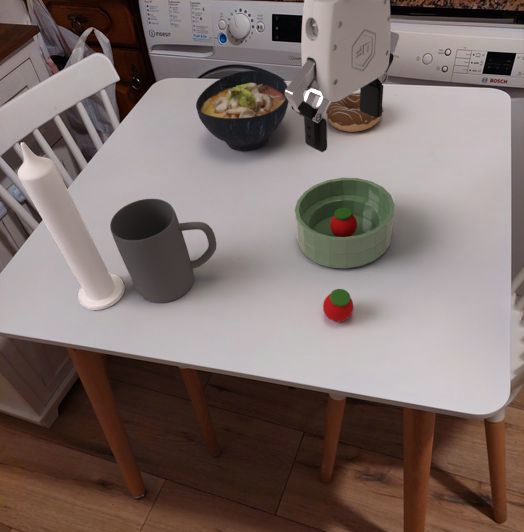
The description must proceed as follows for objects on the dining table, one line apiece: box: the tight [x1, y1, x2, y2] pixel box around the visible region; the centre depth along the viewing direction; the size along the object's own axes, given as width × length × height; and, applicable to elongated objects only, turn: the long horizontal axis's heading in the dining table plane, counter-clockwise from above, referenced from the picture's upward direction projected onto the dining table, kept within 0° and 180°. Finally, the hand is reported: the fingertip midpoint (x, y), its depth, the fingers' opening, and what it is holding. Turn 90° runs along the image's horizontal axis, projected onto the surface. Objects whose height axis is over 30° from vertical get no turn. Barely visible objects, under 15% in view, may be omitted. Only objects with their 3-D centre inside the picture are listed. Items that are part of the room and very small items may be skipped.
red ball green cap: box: [330, 208, 357, 237], centre depth 77 cm, size 4×4×4 cm
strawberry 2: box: [322, 288, 354, 323], centre depth 68 cm, size 4×4×4 cm
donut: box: [325, 92, 384, 133], centre depth 97 cm, size 11×11×4 cm
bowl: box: [195, 70, 290, 152], centre depth 96 cm, size 17×17×10 cm
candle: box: [17, 142, 126, 311], centre depth 68 cm, size 7×7×25 cm
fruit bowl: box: [294, 177, 396, 269], centre depth 77 cm, size 14×14×6 cm
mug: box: [110, 198, 218, 304], centre depth 73 cm, size 14×9×12 cm
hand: (344, 130), depth 65 cm, fingers open, 9 cm apart
